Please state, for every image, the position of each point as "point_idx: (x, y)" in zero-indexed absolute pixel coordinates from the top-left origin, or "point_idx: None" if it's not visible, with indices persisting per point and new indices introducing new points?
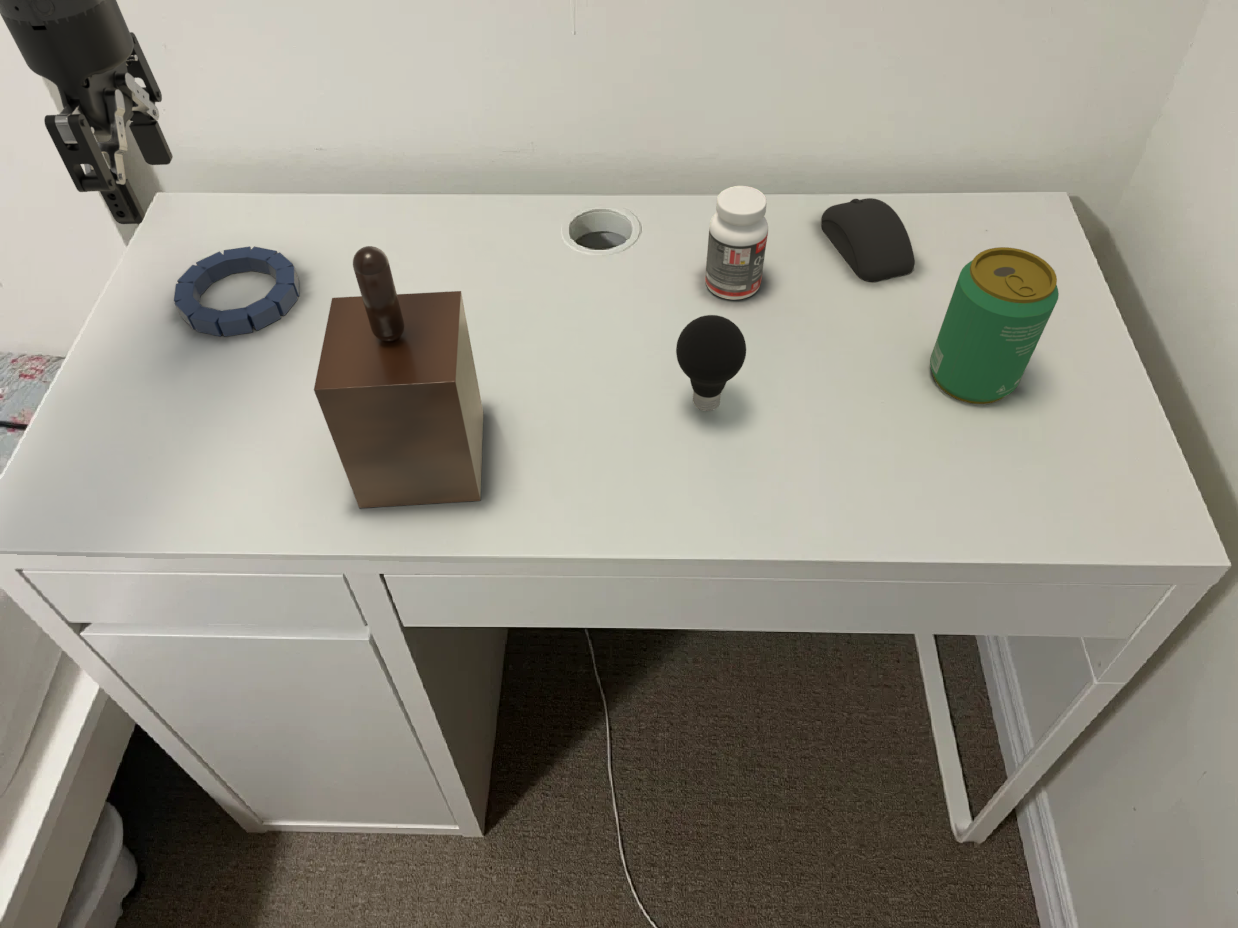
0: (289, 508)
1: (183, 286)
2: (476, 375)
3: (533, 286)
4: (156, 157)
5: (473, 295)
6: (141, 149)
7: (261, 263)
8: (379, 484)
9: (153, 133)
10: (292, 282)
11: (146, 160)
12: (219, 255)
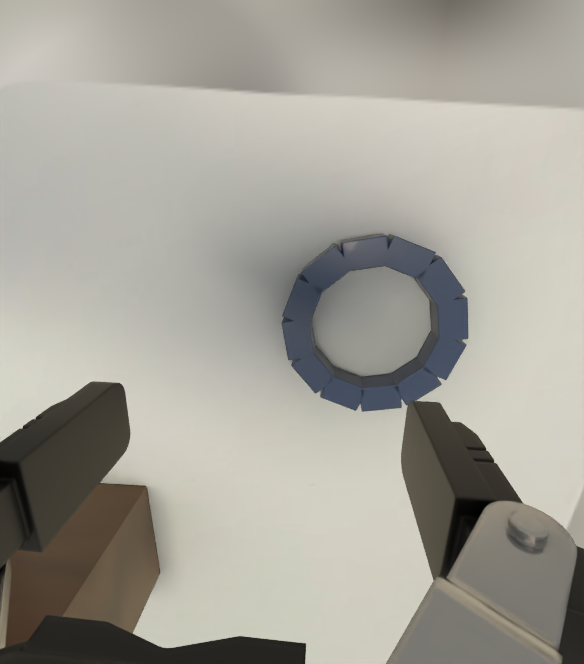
0: (27, 422)
1: (376, 250)
2: (135, 626)
3: (343, 623)
4: (409, 446)
5: (335, 575)
6: (423, 430)
7: (425, 356)
8: None
9: (430, 539)
10: (362, 409)
11: (412, 406)
12: (452, 294)
